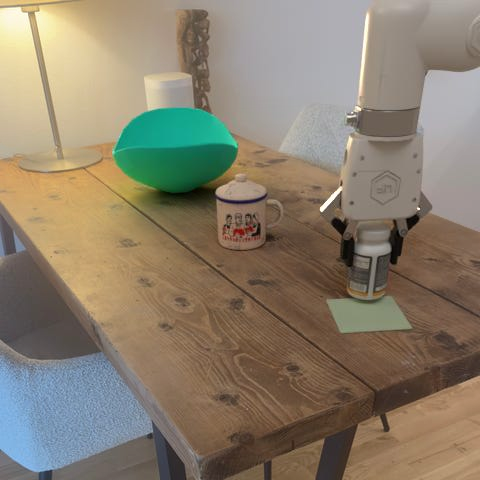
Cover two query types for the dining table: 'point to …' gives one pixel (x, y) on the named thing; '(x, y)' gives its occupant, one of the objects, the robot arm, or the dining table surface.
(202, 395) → the dining table surface
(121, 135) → the table top decor
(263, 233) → the teacup with lid
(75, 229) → the dining table surface
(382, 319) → the mat
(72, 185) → the dining table surface
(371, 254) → the pill bottle
